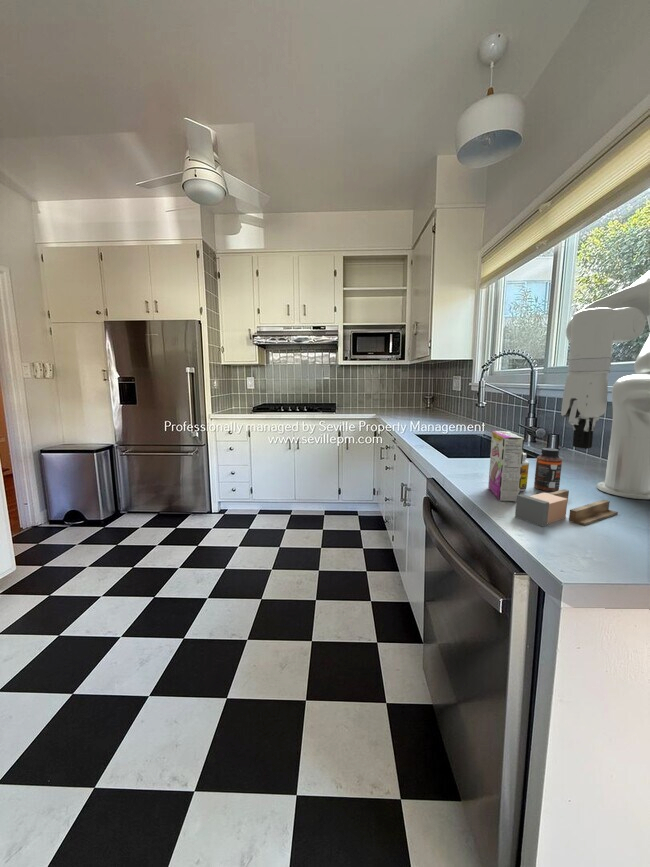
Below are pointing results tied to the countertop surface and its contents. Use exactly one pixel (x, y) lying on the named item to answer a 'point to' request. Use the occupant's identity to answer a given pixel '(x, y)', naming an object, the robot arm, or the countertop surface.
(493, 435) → the candy bar box
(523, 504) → the block
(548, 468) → the supplement bottle
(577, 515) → the chute
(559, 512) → the block
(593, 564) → the countertop surface
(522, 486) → the supplement bottle
